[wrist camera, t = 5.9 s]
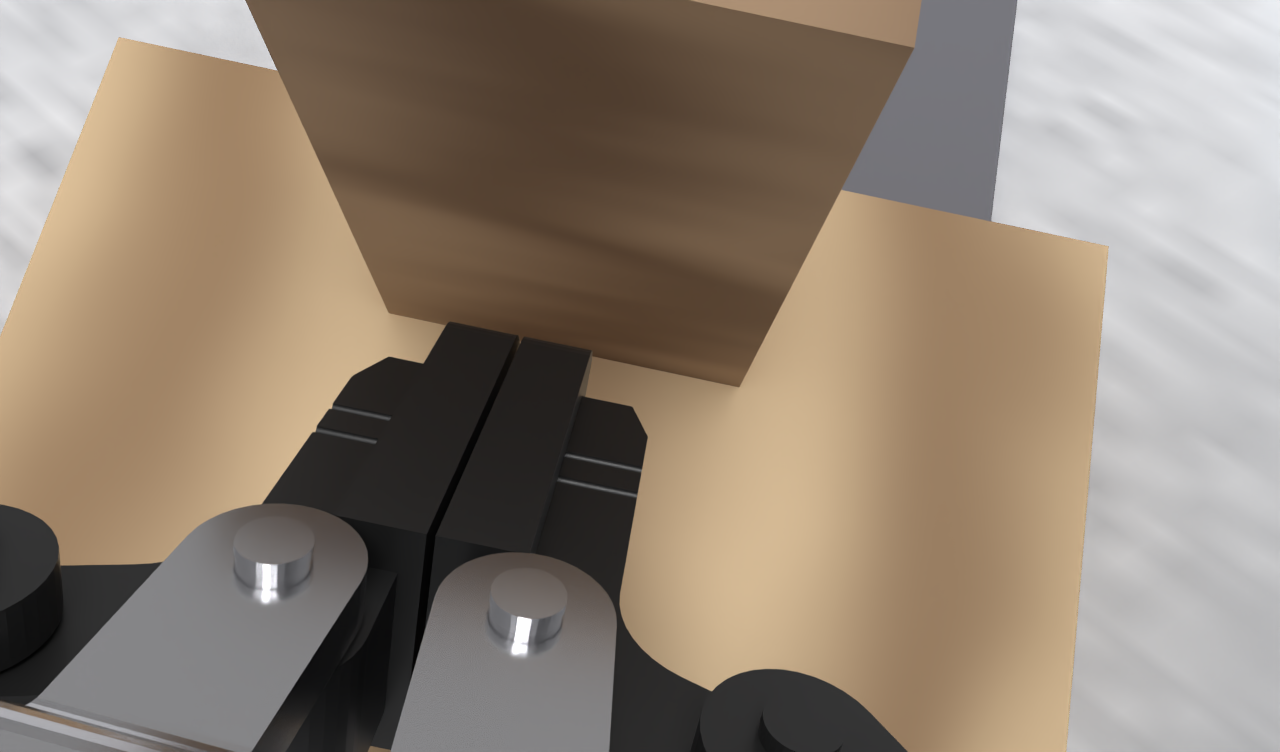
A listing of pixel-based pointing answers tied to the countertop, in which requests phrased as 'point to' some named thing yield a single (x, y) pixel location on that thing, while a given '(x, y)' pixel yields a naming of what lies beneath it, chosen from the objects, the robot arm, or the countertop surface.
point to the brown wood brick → (591, 156)
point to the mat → (944, 113)
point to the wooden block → (664, 402)
